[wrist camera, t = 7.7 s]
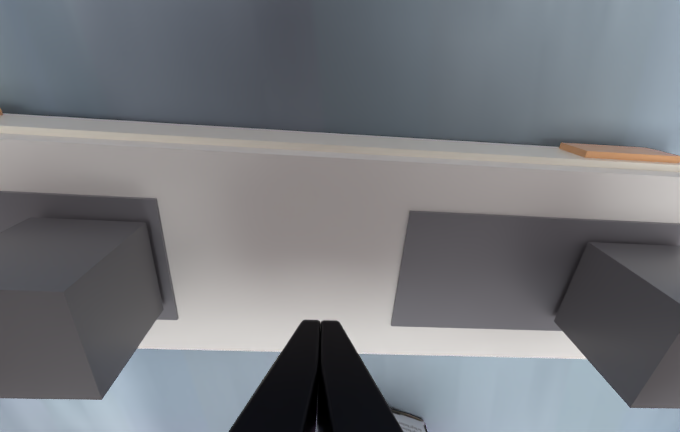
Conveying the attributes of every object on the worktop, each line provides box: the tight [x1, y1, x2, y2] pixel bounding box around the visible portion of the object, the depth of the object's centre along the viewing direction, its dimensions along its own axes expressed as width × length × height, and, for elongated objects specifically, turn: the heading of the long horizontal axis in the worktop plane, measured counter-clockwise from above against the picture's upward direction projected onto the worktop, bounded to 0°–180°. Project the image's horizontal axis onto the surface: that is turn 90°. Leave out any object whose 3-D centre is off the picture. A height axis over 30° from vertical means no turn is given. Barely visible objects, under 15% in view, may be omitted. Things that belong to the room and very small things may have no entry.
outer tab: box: [554, 242, 680, 408], centre depth 9 cm, size 3×3×3 cm
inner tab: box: [0, 217, 164, 400], centre depth 8 cm, size 3×3×3 cm
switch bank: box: [0, 108, 680, 359], centre depth 11 cm, size 7×27×3 cm, turn 86°
